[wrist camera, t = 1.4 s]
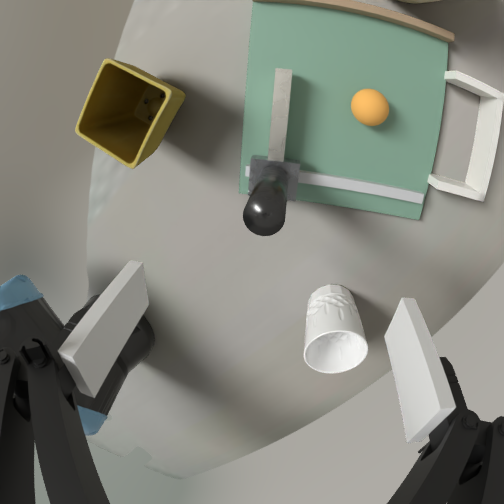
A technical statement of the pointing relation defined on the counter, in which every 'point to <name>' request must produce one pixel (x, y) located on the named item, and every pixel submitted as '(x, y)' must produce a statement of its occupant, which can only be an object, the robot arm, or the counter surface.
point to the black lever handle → (273, 168)
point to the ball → (370, 107)
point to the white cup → (333, 331)
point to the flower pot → (127, 112)
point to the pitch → (348, 100)
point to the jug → (418, 1)
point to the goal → (476, 140)
